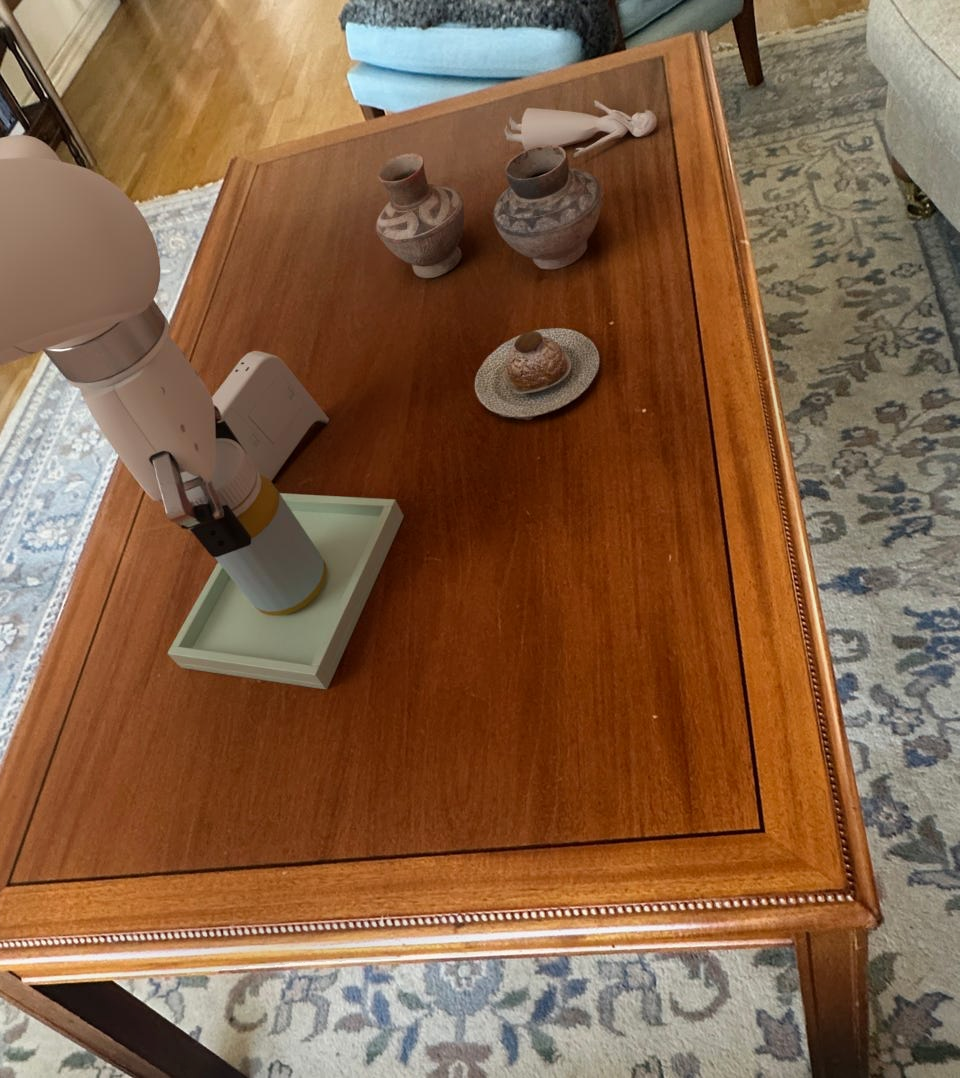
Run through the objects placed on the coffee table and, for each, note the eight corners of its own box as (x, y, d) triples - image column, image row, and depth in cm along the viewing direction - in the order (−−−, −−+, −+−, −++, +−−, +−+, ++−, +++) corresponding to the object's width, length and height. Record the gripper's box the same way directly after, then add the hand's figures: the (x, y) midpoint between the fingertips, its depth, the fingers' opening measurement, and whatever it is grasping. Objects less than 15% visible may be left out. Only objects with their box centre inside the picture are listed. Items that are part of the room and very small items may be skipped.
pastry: (609, 406, 87) (599, 367, 84) (480, 438, 90) (465, 402, 86) (593, 323, 95) (583, 285, 92) (475, 355, 97) (461, 319, 94)
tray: (327, 690, 77) (315, 675, 75) (180, 668, 83) (166, 653, 81) (404, 516, 86) (395, 499, 84) (267, 507, 92) (256, 491, 90)
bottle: (337, 550, 85) (259, 429, 74) (318, 617, 80) (232, 499, 69) (266, 556, 87) (180, 438, 76) (244, 622, 83) (149, 507, 72)
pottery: (412, 236, 115) (375, 143, 106) (621, 216, 105) (599, 111, 96) (381, 299, 108) (339, 205, 100) (600, 283, 99) (575, 177, 90)
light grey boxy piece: (226, 534, 95) (312, 414, 99) (245, 542, 93) (331, 420, 97) (154, 469, 86) (252, 340, 90) (174, 477, 84) (272, 345, 89)
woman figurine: (517, 88, 120) (663, 76, 114) (523, 122, 124) (666, 112, 118) (491, 141, 114) (645, 132, 108) (499, 175, 117) (649, 168, 111)
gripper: (65, 282, 69) (188, 448, 82) (38, 439, 58) (186, 605, 70) (161, 243, 69) (270, 417, 81) (154, 394, 57) (282, 570, 70)
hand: (231, 504), depth 76 cm, fingers open, 9 cm apart
